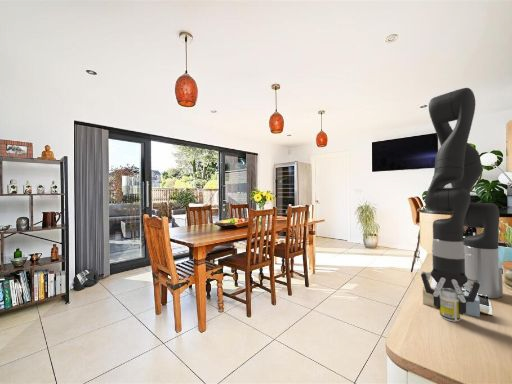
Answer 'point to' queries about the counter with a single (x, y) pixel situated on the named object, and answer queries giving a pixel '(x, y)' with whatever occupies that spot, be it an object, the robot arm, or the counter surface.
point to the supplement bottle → (449, 305)
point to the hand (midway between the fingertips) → (449, 310)
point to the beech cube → (428, 297)
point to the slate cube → (473, 307)
